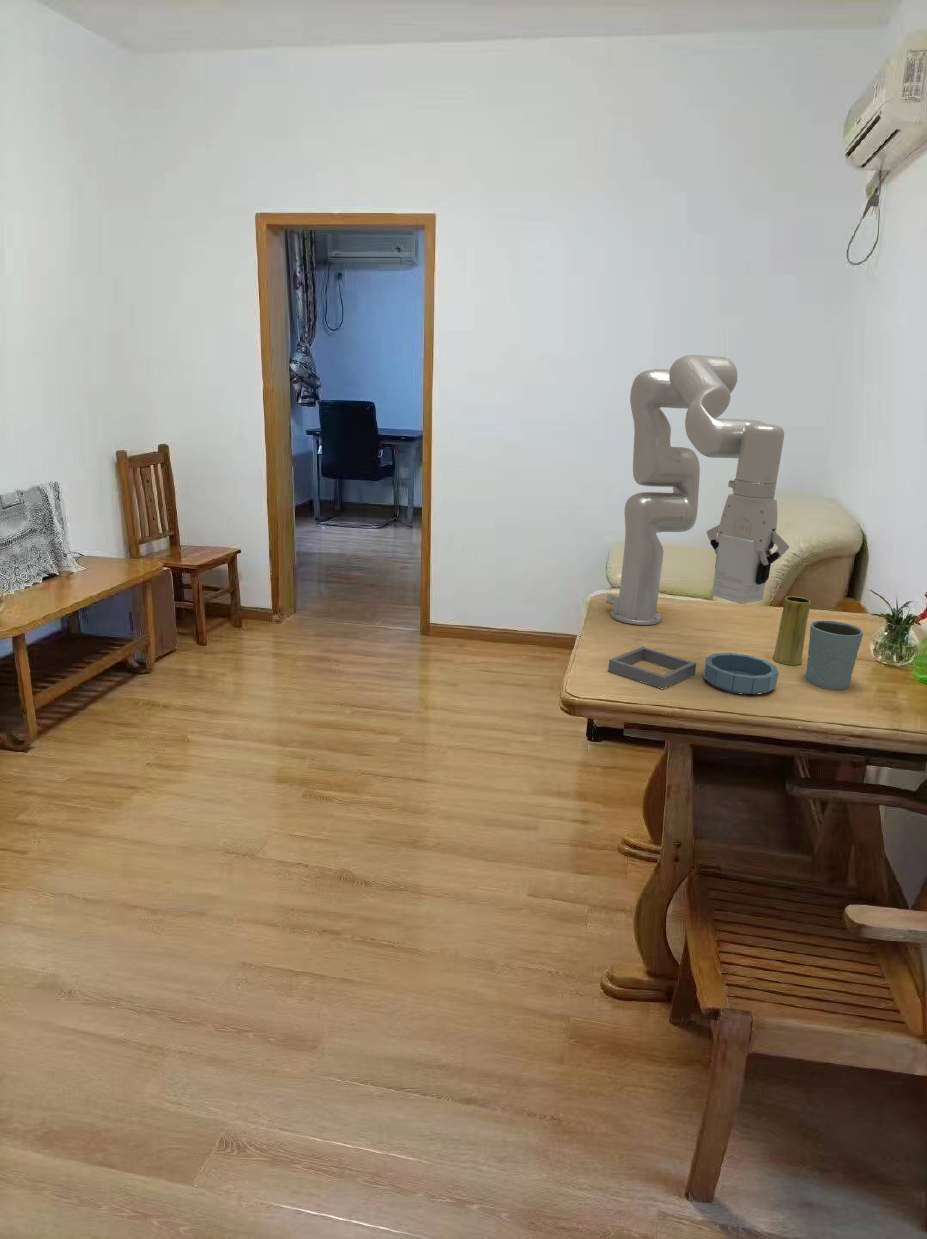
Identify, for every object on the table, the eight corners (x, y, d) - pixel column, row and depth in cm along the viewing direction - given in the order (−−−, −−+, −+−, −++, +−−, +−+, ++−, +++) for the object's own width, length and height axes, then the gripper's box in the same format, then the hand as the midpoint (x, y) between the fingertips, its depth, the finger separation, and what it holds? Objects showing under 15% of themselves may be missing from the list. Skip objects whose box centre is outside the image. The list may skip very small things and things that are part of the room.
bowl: (690, 681, 175) (693, 663, 174) (722, 665, 185) (725, 648, 184) (756, 702, 166) (759, 683, 165) (785, 684, 176) (788, 666, 175)
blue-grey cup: (832, 694, 172) (843, 637, 169) (790, 677, 181) (800, 623, 177) (862, 686, 178) (874, 631, 174) (820, 669, 186) (830, 617, 182)
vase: (803, 667, 187) (815, 604, 183) (774, 663, 188) (785, 601, 184) (798, 657, 193) (810, 597, 188) (770, 654, 194) (781, 594, 189)
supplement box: (764, 600, 170) (774, 538, 166) (740, 605, 165) (751, 541, 162) (733, 591, 175) (742, 530, 171) (709, 595, 171) (719, 533, 167)
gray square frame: (608, 671, 178) (609, 659, 177) (641, 657, 187) (642, 646, 186) (663, 689, 170) (664, 677, 169) (694, 674, 179) (696, 663, 178)
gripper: (703, 484, 167) (691, 572, 172) (789, 498, 156) (774, 591, 161) (722, 482, 172) (709, 566, 177) (806, 495, 161) (791, 585, 166)
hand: (740, 578), depth 169 cm, fingers closed on supplement box, 8 cm apart
